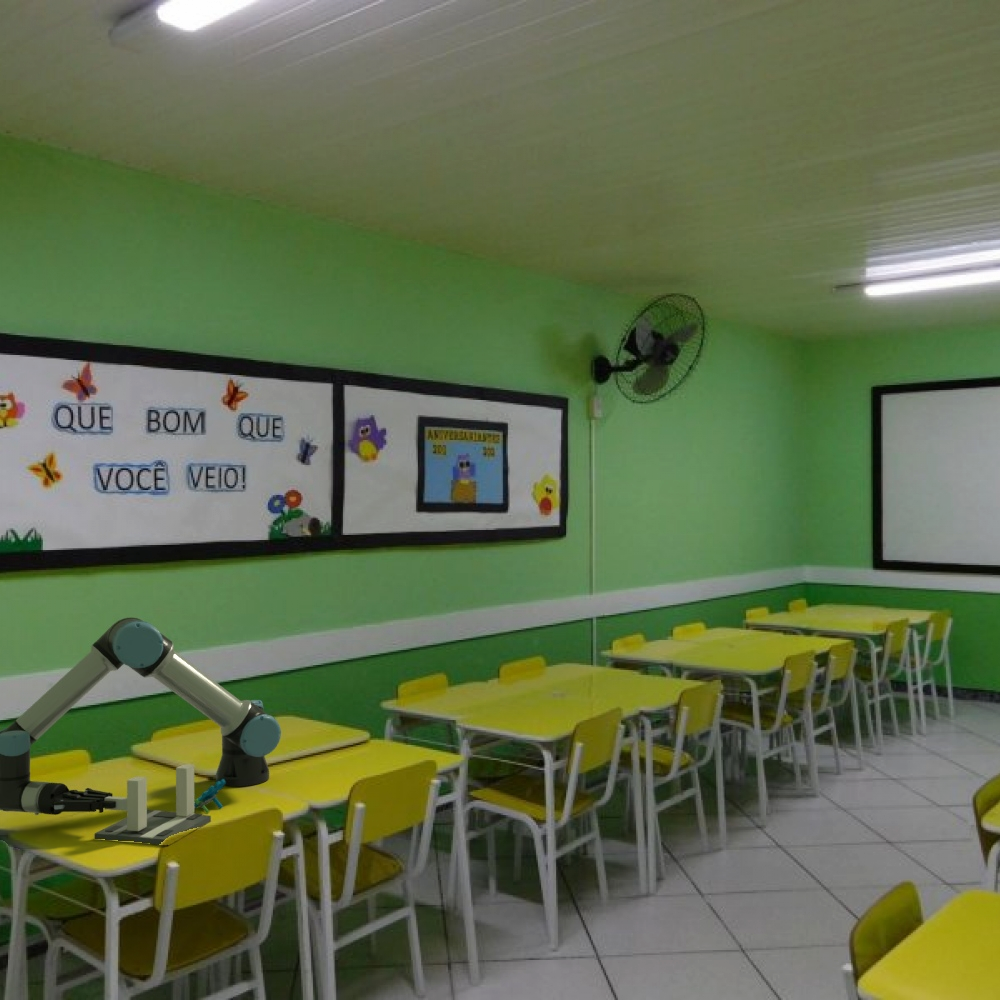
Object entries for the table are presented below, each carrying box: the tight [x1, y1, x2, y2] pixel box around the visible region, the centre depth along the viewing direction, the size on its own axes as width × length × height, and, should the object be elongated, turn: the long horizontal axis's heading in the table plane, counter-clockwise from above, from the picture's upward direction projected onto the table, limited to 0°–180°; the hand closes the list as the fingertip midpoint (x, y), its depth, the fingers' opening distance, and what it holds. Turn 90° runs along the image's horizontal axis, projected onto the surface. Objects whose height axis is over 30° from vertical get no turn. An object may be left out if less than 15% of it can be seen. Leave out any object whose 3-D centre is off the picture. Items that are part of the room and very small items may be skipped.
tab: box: [126, 776, 148, 831], centre depth 242 cm, size 3×4×12 cm
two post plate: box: [93, 764, 212, 846], centre depth 247 cm, size 20×19×14 cm
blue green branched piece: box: [194, 779, 226, 814], centre depth 264 cm, size 11×6×10 cm
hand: (129, 804), depth 242 cm, fingers closed
